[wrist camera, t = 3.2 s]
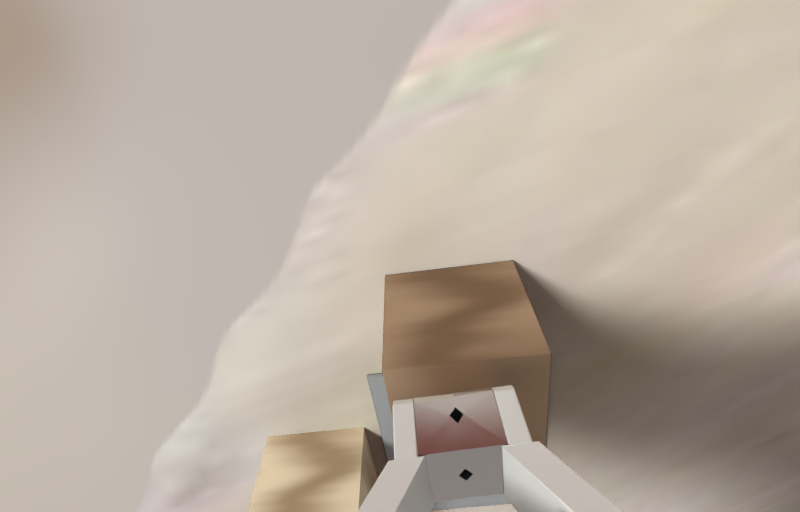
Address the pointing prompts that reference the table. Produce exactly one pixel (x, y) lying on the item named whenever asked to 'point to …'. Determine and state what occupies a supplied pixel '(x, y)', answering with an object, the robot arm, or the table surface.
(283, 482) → the oak block
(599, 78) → the table surface
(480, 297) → the walnut block
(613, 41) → the table surface
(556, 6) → the table surface
